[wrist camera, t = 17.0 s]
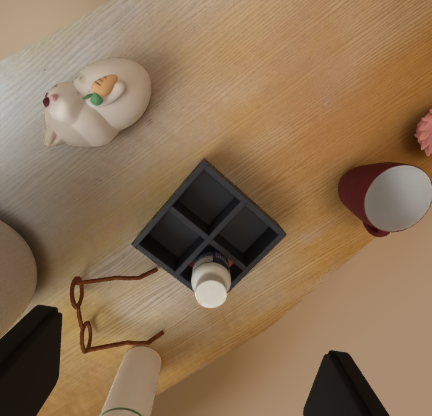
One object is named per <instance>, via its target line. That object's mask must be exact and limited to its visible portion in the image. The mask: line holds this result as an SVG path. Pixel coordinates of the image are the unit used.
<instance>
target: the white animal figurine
mask: <svg viewBox="0 0 432 416" xmlns="http://www.w3.org/2000/svg"><path fill="white" fill-rule="evenodd" d="M45 97H46V98H44V100H43V103H44V116H45V121H46V124H47V129H46V132H45V135H44V143H45V145H46V146H48V147H54V146H57V145H60V144H69V145H72V146H76V147H86V148H90V147H99V146H103V145H105V144H107V143H109V142H110V141H112V140H113V139H114V138H115V137H116V135H117V134H118V133H119V131H120V130H123V129H125V128H127V127H129V126H131V125H132V124H134V123H135V122H136V121H137V120H138V119H139V118H140V117H141V116H142V115H143V113H144V112H145V110H146V108H147V106H148V104H149V101H150V97H151V81H150V78H149V75H148V73H147V72H146V70H145V69H144V68H143V67H142V66H141V65H139V64H138V63H136V62H134V61H131V60H128V59H123V58H108V59H103V60H99V61H96V62H94V63H92V64H90V65H88V66H87V67H85V68H84V69H83V70H82V71H81V72H80V73H79V74H78V76H77V77H76V78H75V80H74V81H72V82H63V83H59V84H57V85H55V86H54V87H53V88H52V89H51V90H50V91H49V92H48V93H46V95H45Z"/></svg>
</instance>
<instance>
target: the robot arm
mask: <svg viewBox="0 0 432 416" xmlns="http://www.w3.org/2000/svg"><path fill="white" fill-rule="evenodd" d="M61 329H62V313H58V309H57V308H56V307H51V306H44V305H37V306H36V307H34V308H33V309H32V310H31V311H30V312H29V313H28V314H27V315H26V316H25V317H24V318H22V319H21V320H20V321H19V322H18V323H17V324H16V325H15V326H14V327H13V328H12V329H11V330H10V331H9V332H7V333H6V334H5V335H4V336H3V337H2V338H1V339H0V416H36V415H37V414H38V412H39V410H40V409H41V407H42V406H43V404H44V403H45V401H46V399H47V398H48V396H49V395H50V393H51V392H52V390H53V388H54V387H55V385H56V383H57V380H58V377H59V366H60V348H61ZM303 415H304V416H389V414H388V413H387V411H386V410H385V408H384V407H383V405H382V403H381V402H380V400H379V399H378V397H377V396H376V394H375V393H374V391H373V390H372V388H371V387H370V385H369V384H368V382H367V380H366V379H365V377H364V376H363V374H362V373H361V371H360V370H359V368H358V367H357V365H356V364H355V362H354V361H353V359H352V357H351V356H350V355H349V354H348V353H345V352H339V351H332V350H331V351H329V353H328V354H325V355H324V357H323V360H322V362H321V365H320V367H319V370H318V373H317V375H316V378H315V380H314V383H313V386H312V388H311V391H310V393H309V396H308V399H307V401H306V404H305V407H304V411H303Z"/></svg>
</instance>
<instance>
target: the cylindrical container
mask: <svg viewBox="0 0 432 416" xmlns="http://www.w3.org/2000/svg"><path fill="white" fill-rule="evenodd" d="M161 365H162V360H161V357H160V355H159V354H158V353H157V352H156V351H155V350H153V349H151V348H149V347H144V346H139V347H134V348H132V349H130V350H128V351H127V352H126V354H125V355H124V357H123V360H122V362H121V365H120V367H119V370H118V372H117V374H116V377H115V379H114V382H113V384H112V387H111V389H110V392H109V394H108V397H107V399H106V402H105V404H104V406H103V409H102V411H101V414H100V416H150V415H151V410H152V406H153V401H154V397H155V392H156V388H157V383H158V379H159V374H160V370H161Z"/></svg>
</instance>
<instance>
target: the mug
mask: <svg viewBox="0 0 432 416" xmlns="http://www.w3.org/2000/svg"><path fill="white" fill-rule="evenodd" d="M338 193H339V197H340V199H341V201H342V203H343V204H344V205H345V206H346V207H347V208H348V209H349V210H350V211H351V212H352V213H353V214H355V215H356V216H357V217H358V218H359V219H360V220H362V222H363V225H364V227H365V228H366V230H367V231H368V232H369V233H370V234H372V235H373V236H376V237H384V236H386V235H388V234H389V233H390V232H399V231H402V230H405V229H408V228H410V227H411V226H413V225H415V224H416V223H417V222H419V221H420V220H421V219H422V218H423V217H424V215H425V214H426V213H427V211H428V209H429V207H430V205H431V202H432V182H431V180H430V178H429V176H428V175H427V173H426V172H425V171H423V170H422V169H420V168H419V167H416V166H413V165H408V164H402V163H392V162H386V163H377V164H369V165H362V166H358V167H355V168H353V169H351V170H349V171H348V172H347V173H345V174H344V175H343V177H342V178H341V179H340V181H339V184H338Z"/></svg>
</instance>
